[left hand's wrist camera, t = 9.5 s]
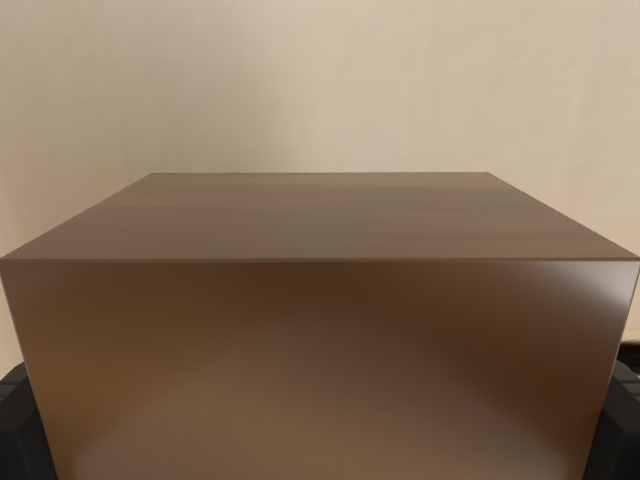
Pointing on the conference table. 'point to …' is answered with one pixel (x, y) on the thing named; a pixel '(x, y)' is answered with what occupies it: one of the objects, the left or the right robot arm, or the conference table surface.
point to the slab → (320, 329)
